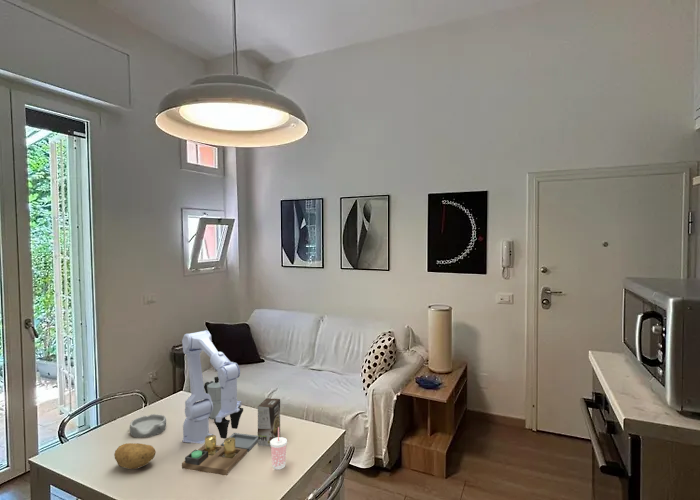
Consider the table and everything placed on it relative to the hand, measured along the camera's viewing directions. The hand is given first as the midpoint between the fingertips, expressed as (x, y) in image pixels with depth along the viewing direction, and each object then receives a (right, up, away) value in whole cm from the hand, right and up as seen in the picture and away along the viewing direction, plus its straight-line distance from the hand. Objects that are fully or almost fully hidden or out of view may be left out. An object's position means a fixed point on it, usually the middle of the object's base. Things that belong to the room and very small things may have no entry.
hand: (229, 432), depth 146 cm
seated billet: (-8, -10, +2) cm, 13 cm away
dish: (-42, -10, +22) cm, 48 cm away
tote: (+2, -9, +10) cm, 14 cm away
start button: (-10, -8, -4) cm, 14 cm away
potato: (-32, -10, -5) cm, 34 cm away
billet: (0, -10, 0) cm, 10 cm away
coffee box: (+12, -10, +12) cm, 20 cm away
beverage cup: (+19, -10, -5) cm, 22 cm away
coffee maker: (-18, -9, +38) cm, 43 cm away
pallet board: (-5, -10, -2) cm, 11 cm away
